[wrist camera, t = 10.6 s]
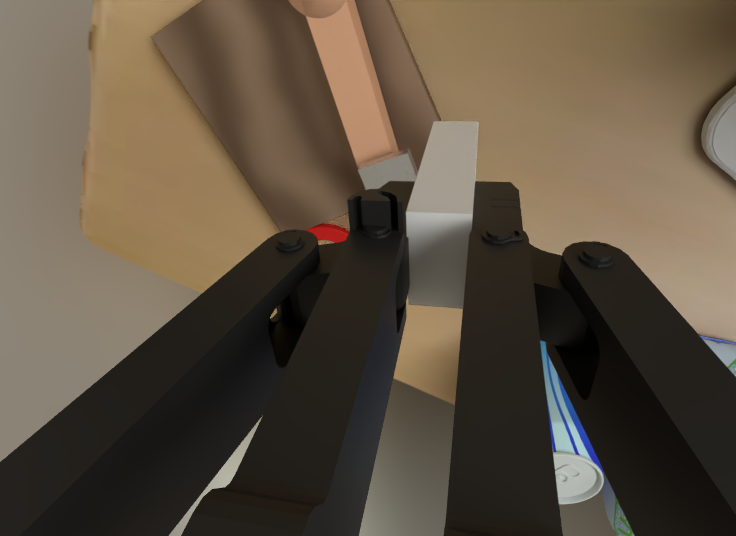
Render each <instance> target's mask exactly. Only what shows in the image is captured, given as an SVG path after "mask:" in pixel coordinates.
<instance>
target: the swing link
mask: <svg viewBox="0 0 736 536" xmlns="http://www.w3.org/2000/svg"><path fill="white" fill-rule="evenodd" d="M288 1H289V2H290V3H291V5H292V6H293V7H294V8H295V9H296V10H297V11H299V12H300V13H302V14H303V15H305V16H306V18H307V21H308V24H309V27H310V30H311V33H312V36H313V39H314V41H315V44H316V47H317V50H318V53H319V56H320V59H321V62H322V65H323V68H324V71H325V73H326V76H327V79H328V82H329V85H330V88H331V91H332V94H333V97H334V100H335V103H336V106H337V108H338V111H339V114H340V117H341V120H342V123H343V126H344V129H345V132H346V135H347V138H348V140H349V143H350V146H351V149H352V152H353V155H354V158H355V161H356V164H357V167H358V168H359V166H360V164H362V163H365V162H368V161H371V160H374V159H377V158H380V157H383V156H385V155H388V154H391V153H394V152H397V151H398V147H397V144H396V140H395V137H394V133H393V130H392V127H391V123H390V120H389V116H388V113H387V109H386V106H385V103H384V99H383V96H382V92H381V89H380V86H379V82H378V79H377V75H376V72H375V68H374V65H373V62H372V58H371V55H370V51H369V48H368V44H367V41H366V38H365V34H364V31H363V27H362V24H361V20H360V17H359V14H358V10H357V7H356V3H355V0H288ZM363 184H364V183H363ZM364 187H365V185H364ZM365 190H366V188H365Z"/></svg>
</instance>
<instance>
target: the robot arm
mask: <svg viewBox="0 0 736 536" xmlns="http://www.w3.org/2000/svg"><path fill="white" fill-rule="evenodd" d="M478 129H479V121H434V123H433V126H432V129H431V132H430V136H429V139H428V142H427V145H426V148H425V152H424V155H423V158H422V161H421V165H420V168H419V171H418V174H417V178H416V181H389V182H387V183H386V184H385V185H383V186H382V187H380V188H379V189H368V190H364V191H359V192H357V193H355V194H353V195H351V196H350V197H349V198H348V199H347V203H348V213H349V222H350V232H349V234H348V236H347V238H346V240H345V241H342V242H337V243H332V244H324V245H318V240H317V237H316V236H315V235H314V234H313V233H312V232H309V231H306V230H297V229H291V230H285V231H283V232H280V233H277V234H275V235H273V236H272V237H270V238H268V239H267V240H266V241H265V242H263V243H262V244H261V245H260V246H259V247H257V248H256V249H255V250H254V251H253V252H251V253H250V254H249V255H248V256H247V257H245V258H244V259H243V260H242V261H241V262H239V263H238V264H237V265H236V266H235V267H233V268H232V269H231V270H230V271H229V272H227V273H226V274H225V275H224V276H223V277H221V278H220V279H219V280H218V281H217V282H215V283H214V284H213V285H212V286H211V287H209V288H208V289H207V290H206V291H205V292H203V293H202V294H201V295H200V296H199V297H197V298H196V299H195V300H194V301H193V302H192V303H190V304H189V305H188V306H187V307H186V308H184V309H183V310H182V311H181V312H180V313H178V314H177V315H176V316H175V317H174V318H172V319H171V320H170V321H169V322H168V323H166V324H165V325H164V326H163V327H162V328H160V329H159V330H158V331H157V332H156V333H154V334H153V335H152V336H151V337H150V338H148V339H147V340H146V341H145V342H144V343H142V344H141V345H140V346H139V347H138V348H136V349H135V350H134V351H133V352H132V353H131V354H129V355H128V356H127V357H126V358H124V359H123V360H122V361H121V362H120V363H119V364H117V365H116V366H115V367H114V368H112V369H111V370H110V371H109V372H108V373H107V374H105V375H104V376H103V377H102V378H100V380H98V381H97V382H96V383H94V384H93V385H92V386H91V387H90V388H88V389H87V390H86V391H85V392H84V393H82V394H81V395H80V396H79V397H78V398H76V399H75V400H74V401H73V402H72V403H70V404H69V405H68V406H67V407H66V408H64V409H63V410H62V411H61V412H60V413H58V414H57V415H56V416H55V417H54V418H52V420H50V421H49V422H48V423H47V424H46V425H44V426H43V427H42V428H41V429H39V430H38V431H37V432H36V433H35V434H33V435H32V436H31V437H30V438H29V439H27V440H26V441H25V442H24V443H23V444H21V445H20V446H19V447H18V448H17V449H15V450H14V451H13V452H12V453H11V454H9V455H8V456H7V457H6V458H5V459H3V460H2V461H1V462H0V536H169V534H170V533H171V532H172V530H173V529H174V528H175V527H176V525H177V524H178V523H179V522H180V520H181V519H182V518H183V516H184V515H185V514H186V513H187V511H188V510H189V509H190V507H191V506H192V505H193V503H194V502H195V501H196V500H197V499H198V497H199V496H200V495H201V493H202V492H203V491H204V490H205V488H206V487H207V486H208V484H209V483H210V482H211V481H212V479H213V478H214V477H215V475H216V474H217V473H218V472H219V470H220V469H221V468H222V467H223V465H224V464H225V463H226V461H227V460H228V459H229V457H230V456H231V455H232V454H233V452H234V451H235V450H236V449H237V447H238V446H239V445H240V443H241V442H242V441H243V440H244V438H245V437H246V436H247V435H248V433H249V432H250V431H251V429H252V428H253V427H254V426H255V424H256V423H257V422H258V420H259V419H260V418H261V417H262V415H263V417H262V419H261V421H260V423H259V425H258V427H257V429H256V432H255V434H254V436H253V438H252V440H251V442H250V444H249V446H248V448H247V450H246V453H245V455H244V457H243V459H242V461H241V463H240V465H239V467H238V470H237V472H236V474H235V476H234V477H233V479H232V481H231V482H230V484H228V485H227V486H226V487H225V488H218V489H212V490H211V491H210V492H208V493H207V494H206V495H205V496H204V497H203V498H202V500H201V501H200V503H199V504H198V506H197V507H196V509H195V511H194V512H193V514H192V516H191V518H190V520H189V522H188V524H187V525H186V528H185V529H184V531H183V533H182V535H181V536H359V532H360V527H361V522H362V518H363V513H364V509H365V504H366V499H367V495H368V490H369V485H370V481H371V476H372V472H373V467H374V462H375V458H376V453H377V449H378V444H379V440H380V435H381V431H382V426H383V421H384V417H385V412H386V408H387V403H388V399H389V394H390V389H391V385H392V380H393V376H394V371H395V367H396V362H397V358H398V353H399V349H400V344H401V339H402V335H403V330H404V326H405V321H406V299H407V295H408V300H409V304H410V305H423V306H436V307H449V308H462V309H463V316H462V328H461V340H460V353H459V365H458V377H457V390H456V402H455V414H454V426H453V439H452V451H451V463H450V476H449V488H448V501H447V513H446V523H445V529H444V536H563V534H562V527H561V518H560V510H559V501H558V492H557V483H556V474H555V466H554V457H553V448H552V439H551V431H550V422H549V413H548V405H547V396H546V387H545V378H544V370H543V361H542V352H541V343H540V340H541V341H544V342H546V343H545V345H546V351H547V353H548V355H549V358H550V360H551V362H552V364H553V366H554V368H555V370H556V372H557V374H558V376H559V379H560V381H561V383H562V385H563V387H564V389H565V391H566V393H567V395H568V397H569V399H570V402H571V404H572V406H573V408H574V410H575V412H576V414H577V416H578V418H579V420H580V423H581V425H582V427H583V429H584V431H585V433H586V435H587V437H588V439H589V441H590V444H591V446H592V448H593V450H594V452H595V454H596V456H597V458H598V460H599V462H600V464H601V467H602V469H603V471H604V473H605V475H606V477H607V479H608V481H609V483H610V485H611V488H612V490H613V492H614V494H615V496H616V498H617V500H618V502H619V504H620V506H621V508H622V511H623V513H624V515H625V517H626V519H627V521H628V523H629V525H630V527H631V529H632V532H633V534H634V536H736V376H735V375H734V374H733V373H732V372H731V371H730V370H729V369H728V367H727V366H726V365H725V364H724V363H723V362H722V361H721V360H720V358H719V357H718V356H717V355H716V354H715V353H714V352H713V351H712V349H711V348H710V347H709V346H708V345H707V344H706V343H705V341H704V340H703V339H702V338H701V337H700V336H699V335H698V334H697V332H696V331H695V330H694V329H693V328H692V327H691V326H690V325H689V323H688V322H687V321H686V320H685V319H684V318H683V317H682V316H681V314H680V313H679V312H678V311H677V310H676V309H675V308H674V307H673V305H672V304H671V303H670V302H669V301H668V300H667V299H666V298H665V296H664V295H663V294H662V293H661V292H660V291H659V290H658V289H657V287H656V286H655V285H654V284H653V283H652V282H651V281H650V280H649V278H648V277H647V276H646V275H645V274H644V273H643V272H642V271H641V269H640V268H639V267H638V266H637V265H636V264H635V263H634V261H633V260H632V259H631V258H630V257H629V256H628V255H627V254H626V253H624V252H623V251H622V250H620V249H618V248H616V247H614V246H611V245H609V244H606V243H600V242H595V241H593V242H578V243H573V244H571V245H570V246H568V247H566V248H565V250H564V252H563V254H562V256H561V255H557V254H553V253H549V252H545V251H542V250H540V249H538V248H535V247H534V246H532V245H531V244H529V238H528V236H527V234H526V232H524V231H523V227H522V217H521V208H520V198H519V190H518V189H517V188H516V187H515V186H514V185H513V184H512V183H511V182H476V181H475V178H476V161H477V145H478ZM275 308H277V314H276V315H275V316H274V317H273V318H271V319H270V316H271V314H272V313H273V311H274V310H275Z"/></svg>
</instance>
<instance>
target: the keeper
mask: <svg viewBox="0 0 736 536" xmlns="http://www.w3.org/2000/svg"><path fill="white" fill-rule="evenodd" d="M358 172H359V174H360V176H361V179H362V181H363V183H364V185H365V188H366V190H368V189H379V188H380V187H382V186H383V185H385V184H386V183H387V182H389V181H416V178H417V174H418V170H417V167H416V165H415V162H414V159H413V157H412V154H411V151H410V149H409V148H406V149H403V150H400V151H397V152H394V153H391V154H388V155H385V156H383V157H380V158H377V159H374V160H371V161H368V162H365V163H362V164H360V166H359V168H358Z"/></svg>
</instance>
